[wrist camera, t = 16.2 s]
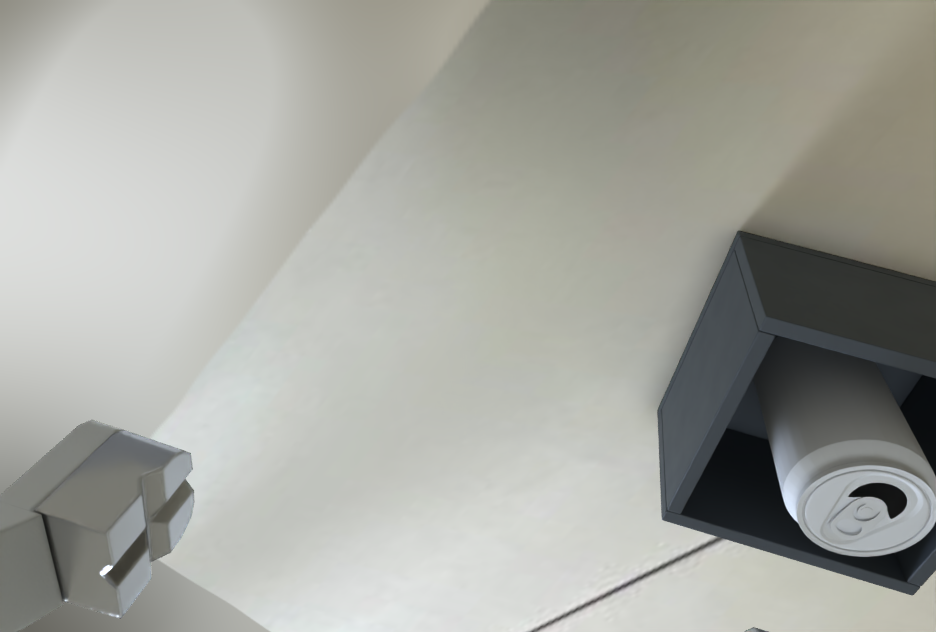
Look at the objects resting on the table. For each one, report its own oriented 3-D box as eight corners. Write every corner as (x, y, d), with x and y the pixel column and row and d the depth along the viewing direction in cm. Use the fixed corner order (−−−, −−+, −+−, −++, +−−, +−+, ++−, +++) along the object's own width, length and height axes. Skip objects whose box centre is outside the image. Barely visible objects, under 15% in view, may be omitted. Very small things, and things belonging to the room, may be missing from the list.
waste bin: (737, 230, 37) (766, 316, 29) (985, 294, 36) (1088, 403, 28) (657, 410, 45) (661, 520, 36) (861, 469, 43) (913, 596, 35)
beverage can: (895, 351, 38) (987, 505, 28) (817, 423, 41) (874, 583, 31) (799, 300, 38) (857, 436, 28) (729, 377, 41) (758, 523, 31)
